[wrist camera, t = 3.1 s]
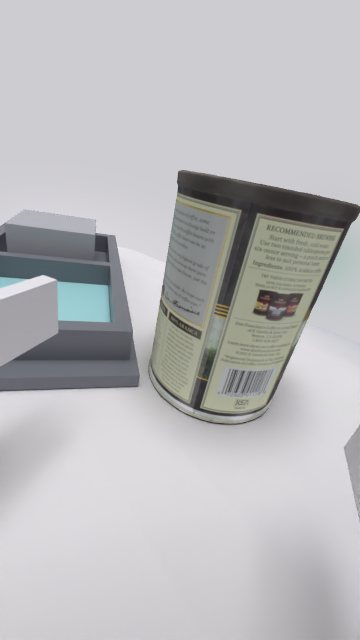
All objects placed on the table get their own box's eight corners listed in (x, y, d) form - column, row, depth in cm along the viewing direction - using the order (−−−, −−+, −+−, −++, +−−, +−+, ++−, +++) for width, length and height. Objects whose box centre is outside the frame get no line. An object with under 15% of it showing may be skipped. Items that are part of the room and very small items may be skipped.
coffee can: (210, 331, 29) (250, 185, 22) (296, 393, 22) (388, 212, 16) (122, 355, 23) (143, 160, 16) (207, 452, 16) (301, 189, 9)
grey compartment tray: (116, 257, 45) (119, 219, 42) (138, 386, 20) (149, 312, 17) (5, 245, 40) (0, 201, 37) (-158, 395, 15) (-210, 294, 12)
